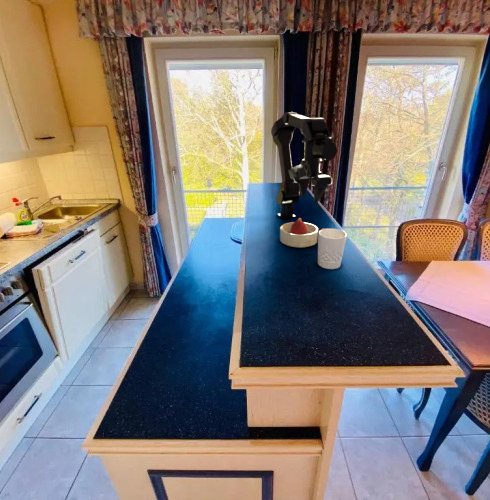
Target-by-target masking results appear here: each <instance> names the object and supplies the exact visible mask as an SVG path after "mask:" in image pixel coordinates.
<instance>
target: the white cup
mask: <svg viewBox="0 0 490 500" xmlns="http://www.w3.org/2000/svg"><path fill="white" fill-rule="evenodd" d="M347 236H348V234H347V232H345V231H344V230H342V229H338V228H322V229H320V230H318V237H317V265H318V266H319V267H321V268H323V269H327V270H335V269H336V270H337V269H339V268H340V267H341V265H342V259H343V258H344V257H343V256H344V253H345V247H346V242H347Z"/></svg>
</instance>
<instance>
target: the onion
mask: <svg viewBox="0 0 490 500" xmlns="http://www.w3.org/2000/svg"><path fill="white" fill-rule="evenodd" d="M293 222H294V223H293V224H292V226H291V230H290V231H291V234H298V235H305V234H306V233H307V226H306V224H305V223H306V222H305V221H302V218H301V217H299V218H297V220H296V221H293ZM304 222H305V223H304Z"/></svg>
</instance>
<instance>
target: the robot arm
mask: <svg viewBox="0 0 490 500" xmlns="http://www.w3.org/2000/svg"><path fill="white" fill-rule="evenodd" d="M296 128H297V129H299V130H300V133H301V134H302V135H303V136H304V137H305V138H304V139H302V143H304V153H303V154H304V156H303V157H304V158H303V159H301V161H300V164H299V165H295V166H293V164H292V163H293V162H292V155H291V154H292V153H291V147H290V146H291V145H290V144H291V142H292V140H293V134H294V132H295V131H296ZM270 132H271V133H270V134H271V136H272V141H273V143H274V144H275V145H276V146H277V150H278V159H279V168H280V176H281V183H280V185H279V188H278V189H279V190H278V191H279V192H278V193H277V195H276V197H275V203H276V204H277V205H279V207H280V212H279V213H277V217H280V218H281V219H282V220H287V219H294V218H297V216H296V215H295V214H294V204H299V200H300V197H301V198H305V197H306V194H307V191H308V187H309V185H310V181H311V185H310V186H311V187H312V188H313V203H314V204H317V203H319V201H320V199H321V198H322V196H323V194H324V192H326V190H327V188H328V187H330V185H331V186H332V185H333V178H332V176H331V175H327V174H323V172H322V171H320V170H321V169H320V168H321V164H323V162H324V160H325V161H331V160H334V158H336V156H337V154H338V146H337V144H336V143H335V142H334V137H331V132H330V131H329V127H328V124H327V122H326V119H325V118H324V117H307V116H305V115H302V114H298V113H297V112H293V111H292V112H284V113H283V114H282V116H281V117H279V118H278V119H277V120H275V122H274V123H273V125H272V127H271V130H270Z"/></svg>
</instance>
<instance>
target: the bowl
mask: <svg viewBox="0 0 490 500" xmlns="http://www.w3.org/2000/svg"><path fill="white" fill-rule="evenodd" d="M294 222H295V221H291V222H286V223H283V224H282V225H280V227H279V241H280V242H281V243H282V244H284V245H286V246H287V247H292V248H308V247H311V246H314V245H316V244H318V236H319V228H318V226H317V225H315V224H313V223H309V222H305V221H303V222H304V223H305V224H306V226H307V233H306V234H305V235H298V234H291V231H290V230H291V226H292V224H293V223H294Z"/></svg>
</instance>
